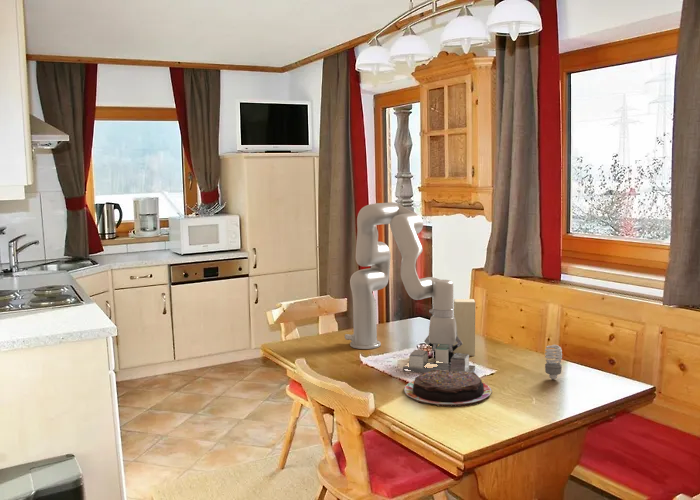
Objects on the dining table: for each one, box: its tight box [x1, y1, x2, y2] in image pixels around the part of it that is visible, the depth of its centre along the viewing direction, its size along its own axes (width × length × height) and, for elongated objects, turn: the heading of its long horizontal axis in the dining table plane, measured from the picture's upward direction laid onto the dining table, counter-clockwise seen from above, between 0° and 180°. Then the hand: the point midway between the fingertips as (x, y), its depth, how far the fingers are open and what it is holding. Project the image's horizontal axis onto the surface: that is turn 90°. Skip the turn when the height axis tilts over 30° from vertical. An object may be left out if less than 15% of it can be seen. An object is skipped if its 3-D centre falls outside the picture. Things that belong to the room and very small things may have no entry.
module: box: [434, 344, 450, 364], centre depth 247 cm, size 4×6×6 cm
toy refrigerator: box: [453, 298, 476, 357], centre depth 257 cm, size 8×7×21 cm
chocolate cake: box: [403, 369, 493, 407], centre depth 213 cm, size 28×28×7 cm
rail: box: [402, 349, 476, 374], centre depth 237 cm, size 24×9×6 cm, turn 69°
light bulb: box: [544, 344, 563, 381], centre depth 223 cm, size 6×6×12 cm
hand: (443, 360), depth 247 cm, fingers closed on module, 4 cm apart
